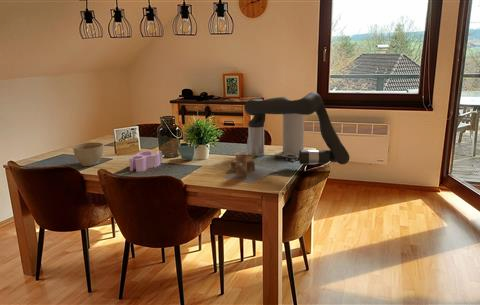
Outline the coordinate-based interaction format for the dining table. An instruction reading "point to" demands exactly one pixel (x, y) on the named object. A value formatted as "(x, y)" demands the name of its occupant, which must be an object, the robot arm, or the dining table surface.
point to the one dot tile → (241, 165)
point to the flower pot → (186, 151)
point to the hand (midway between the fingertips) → (274, 157)
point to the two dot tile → (249, 165)
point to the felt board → (253, 174)
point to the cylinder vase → (293, 133)
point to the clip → (145, 160)
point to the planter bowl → (88, 153)
